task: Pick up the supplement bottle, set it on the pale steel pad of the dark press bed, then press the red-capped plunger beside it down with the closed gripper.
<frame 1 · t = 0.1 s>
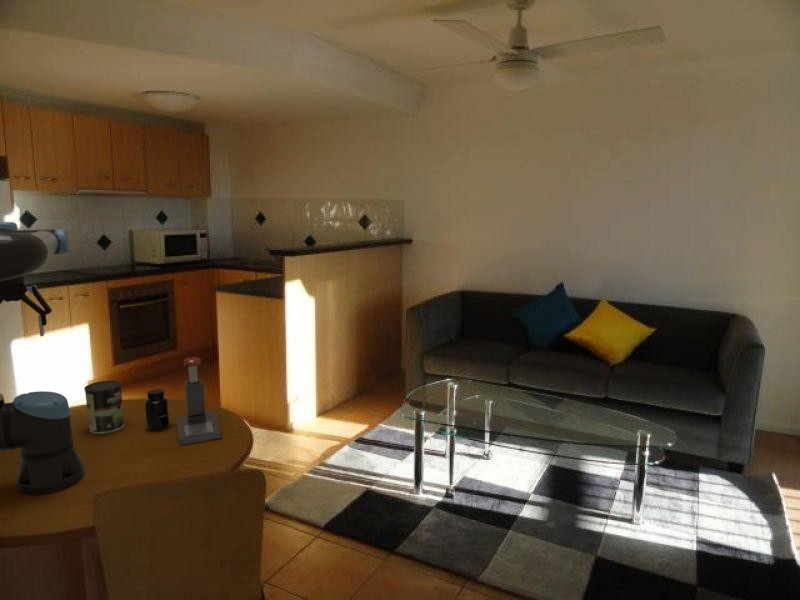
hand: (17, 337, 184), 28 cm above the table, tool pointing down, fingers open, 13 cm apart
coffee can: (107, 428, 183), on the table
supplement bottle: (158, 427, 183), on the table
plunger: (193, 378, 183), point 15 cm above the table, slide at 0.0 cm
press: (198, 430, 180), on the table
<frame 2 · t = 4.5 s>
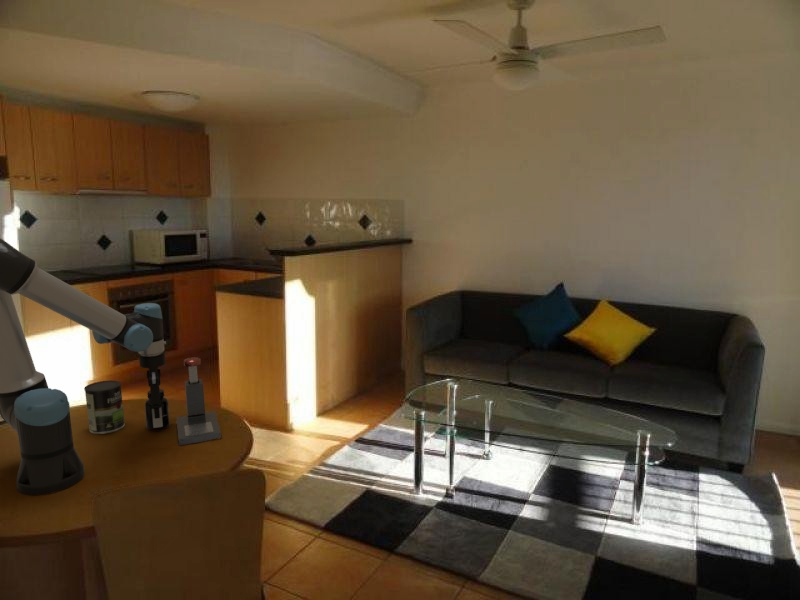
hand: (158, 422, 183), 2 cm above the table, tool pointing down, fingers closed on supplement bottle, 7 cm apart
supplement bottle: (158, 427, 183), on the table, touching gripper
everything else where it was.
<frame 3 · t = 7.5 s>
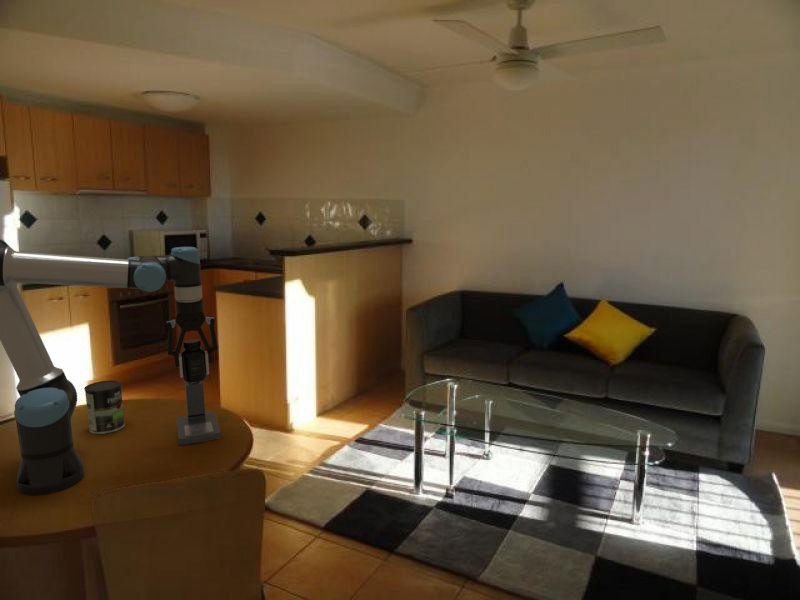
hand: (194, 374, 173), 20 cm above the table, tool pointing down, fingers closed on supplement bottle, 7 cm apart
supplement bottle: (195, 380, 173), point 18 cm above the table, touching gripper
everything else where it was.
when the fingers open (4 cm above the table, at t = 10.5 s): supplement bottle stays where it is, resting on press.
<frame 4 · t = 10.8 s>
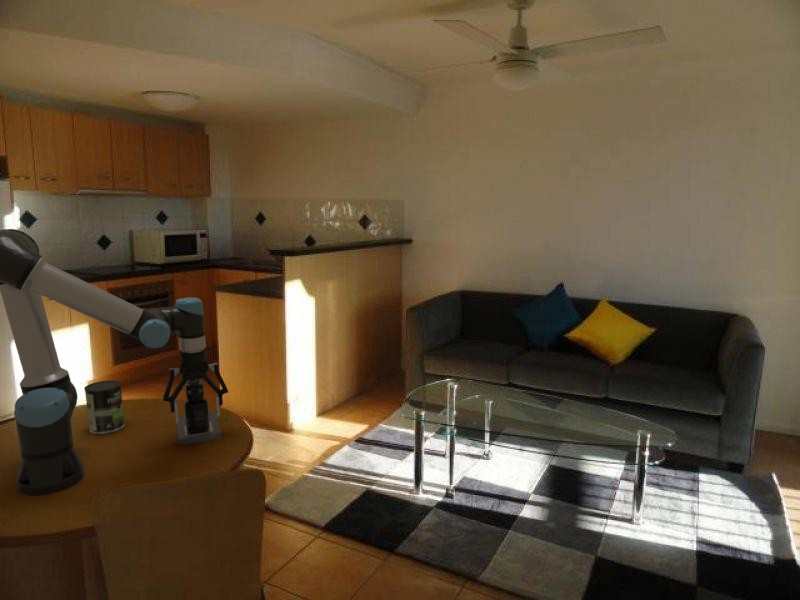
hand: (197, 418, 176), 6 cm above the table, tool pointing down, fingers open, 11 cm apart
supplement bottle: (198, 429, 176), point 2 cm above the table, touching press
everything else where it was.
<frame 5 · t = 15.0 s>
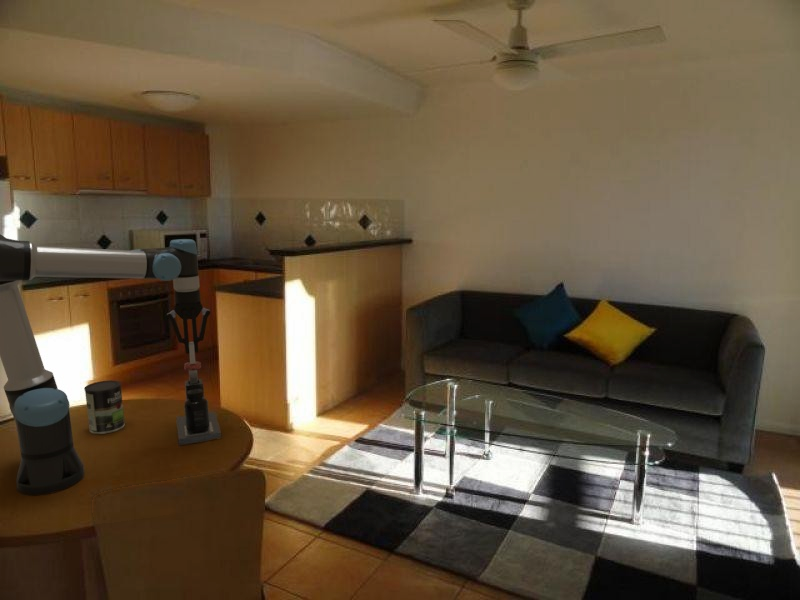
hand: (192, 362, 182), 20 cm above the table, tool pointing down, fingers closed
plunger: (193, 382, 183), point 14 cm above the table, slide at 1.3 cm, touching gripper
everything else where it was.
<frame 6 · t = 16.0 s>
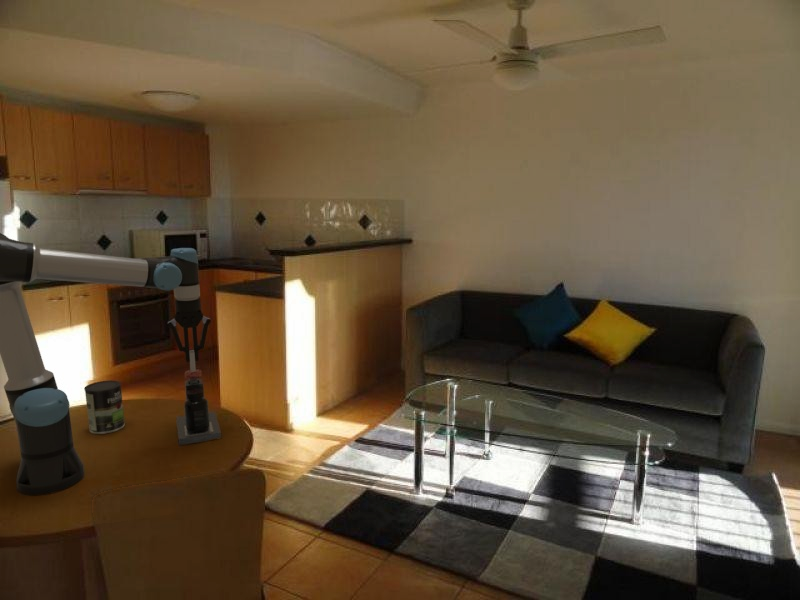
hand: (193, 371, 182), 18 cm above the table, tool pointing down, fingers closed
plunger: (194, 390, 184), point 11 cm above the table, slide at 4.0 cm, touching gripper
everything else where it was.
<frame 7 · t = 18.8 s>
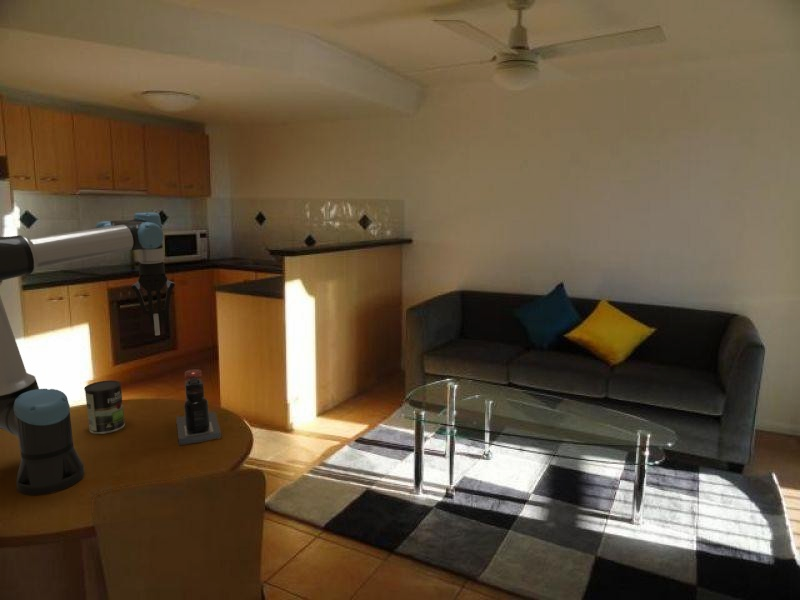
hand: (157, 334, 186), 28 cm above the table, tool pointing down, fingers closed
plunger: (194, 390, 184), point 11 cm above the table, slide at 4.0 cm
everything else where it was.
at the end: supplement bottle inside the target area on the press (0.2 cm from its centre), point 2.1 cm above the press's base; supplement bottle tilted 0°; plunger slide at 4.0 cm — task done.
